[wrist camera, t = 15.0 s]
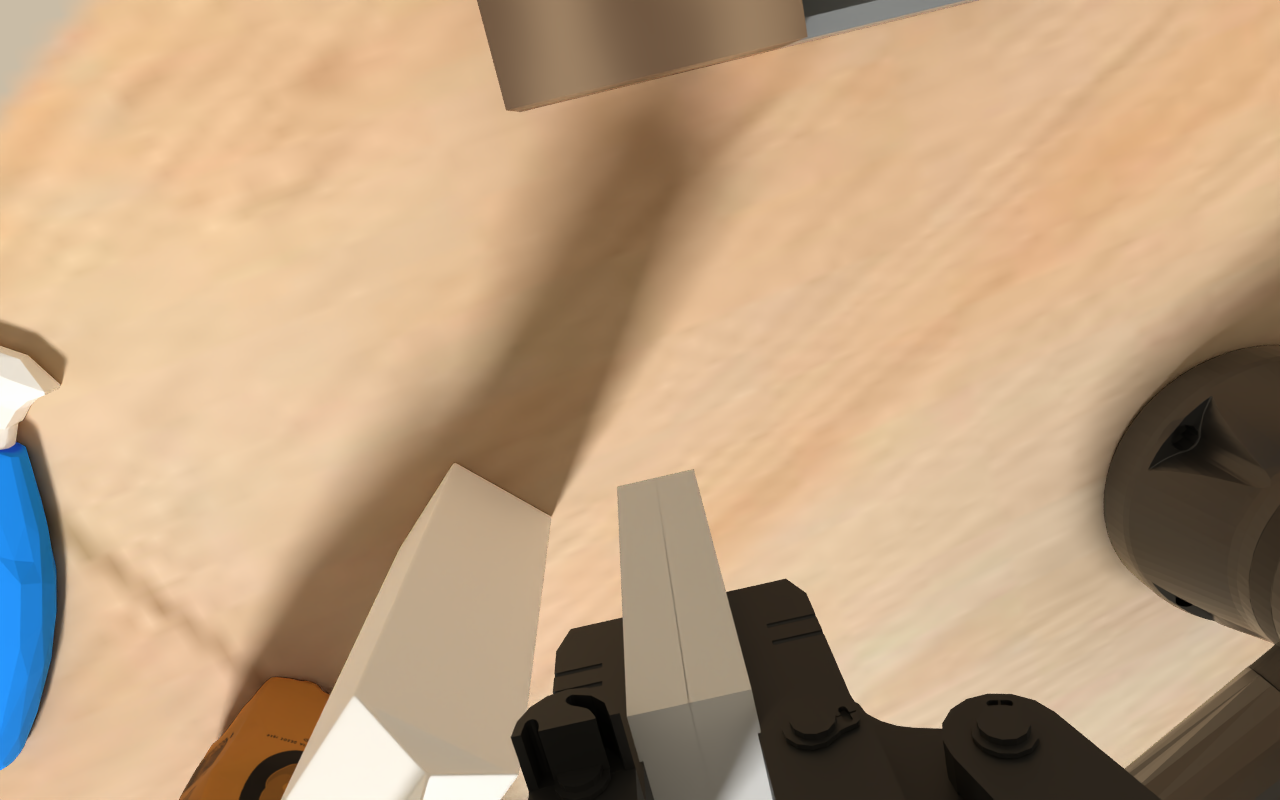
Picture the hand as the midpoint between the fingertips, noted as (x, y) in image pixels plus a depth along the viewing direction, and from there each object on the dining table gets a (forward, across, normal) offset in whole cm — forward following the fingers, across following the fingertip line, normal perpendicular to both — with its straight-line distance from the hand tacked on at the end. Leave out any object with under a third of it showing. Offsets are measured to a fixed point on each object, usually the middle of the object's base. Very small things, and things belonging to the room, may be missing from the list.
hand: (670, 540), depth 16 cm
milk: (+27, +11, +11) cm, 31 cm away
